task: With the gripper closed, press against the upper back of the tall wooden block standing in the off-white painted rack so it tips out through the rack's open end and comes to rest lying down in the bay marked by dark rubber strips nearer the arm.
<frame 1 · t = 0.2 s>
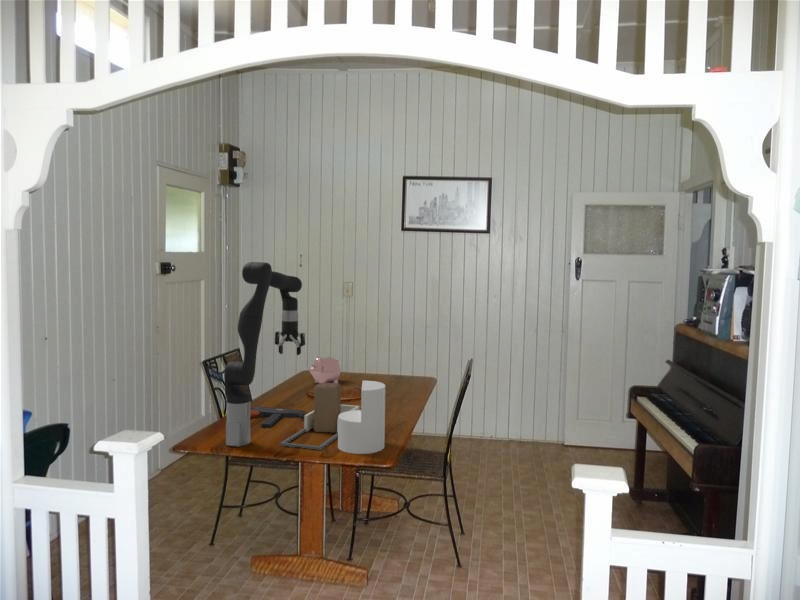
hand: (289, 354, 303), 29 cm above the table, tool pointing down, fingers open, 8 cm apart
cylinder: (361, 446, 262), on the table
wooden block: (327, 430, 284), on the table
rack: (332, 426, 290), on the table
bay: (312, 439, 269), on the table
piggy bank: (325, 383, 380), on the table
submachine gun: (272, 421, 299), on the table
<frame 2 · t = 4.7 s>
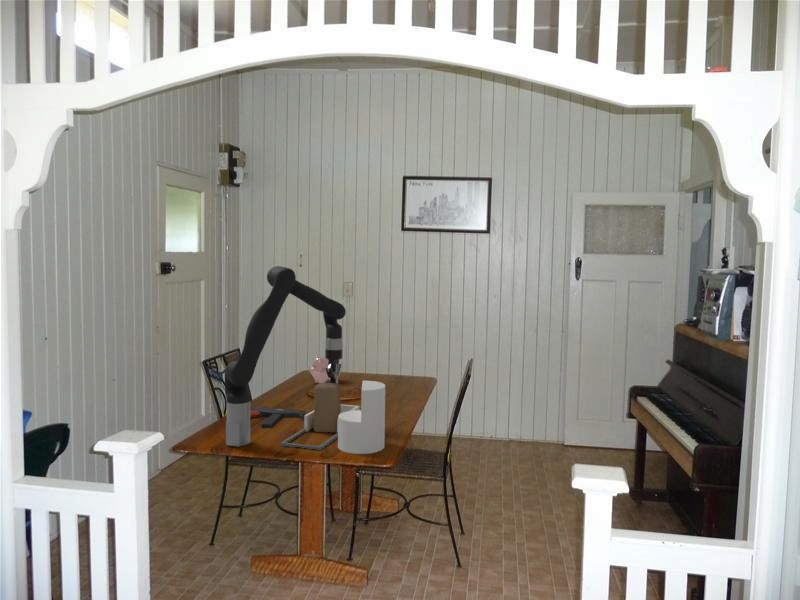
hand: (333, 386, 290), 18 cm above the table, tool pointing down, fingers closed
wooden block: (327, 430, 284), on the table, touching gripper
everything else where it was.
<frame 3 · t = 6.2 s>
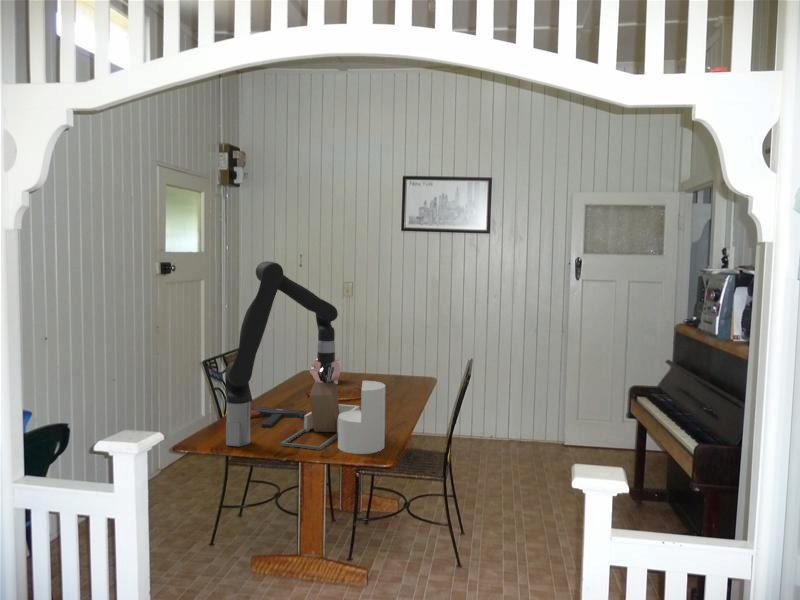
hand: (325, 390, 281), 18 cm above the table, tool pointing down, fingers closed
wooden block: (327, 425, 284), point 2 cm above the table
everything else where it was.
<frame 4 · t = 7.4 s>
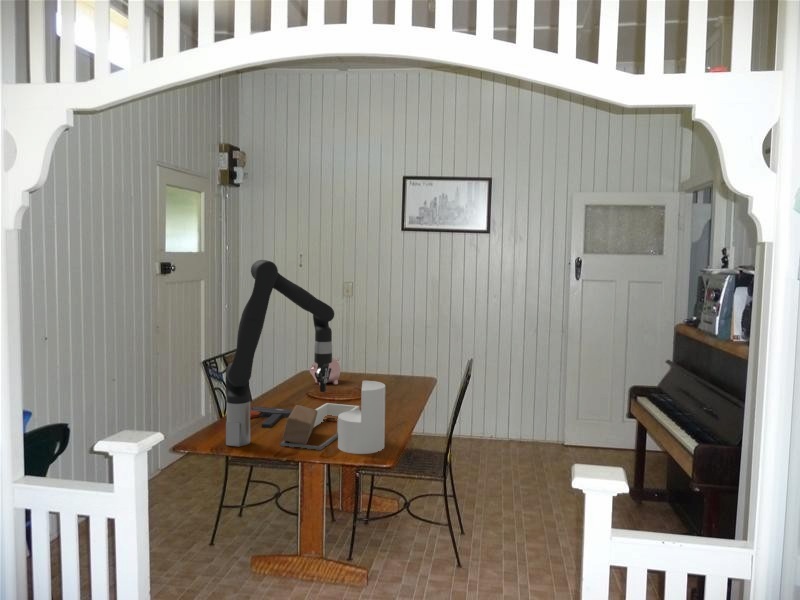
hand: (323, 391, 278), 18 cm above the table, tool pointing down, fingers closed
wooden block: (304, 417, 280), point 6 cm above the table, touching bay
everything else where it was.
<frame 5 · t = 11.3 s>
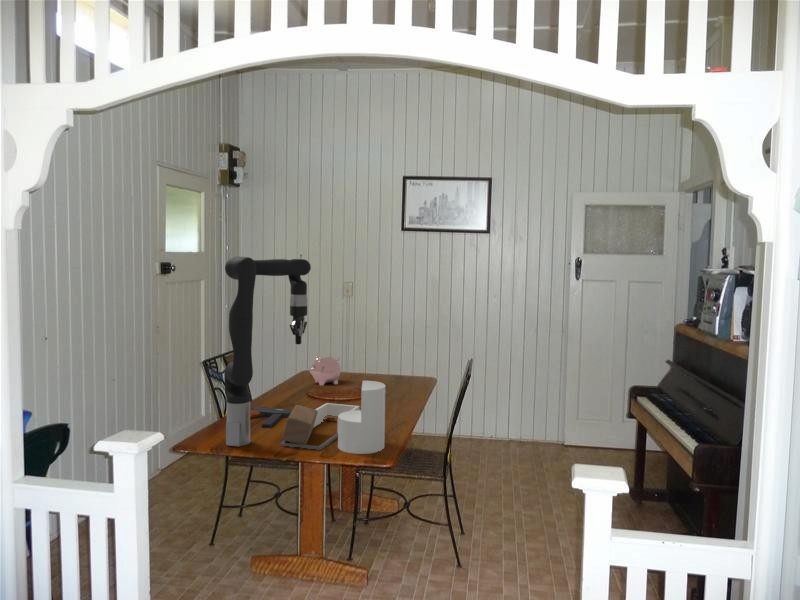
hand: (298, 344, 285), 37 cm above the table, tool pointing down, fingers closed
nothing on the table moved.
at the end: wooden block tilted 92°; wooden block inside the target area (7.9 cm from its centre), point 6.5 cm above the table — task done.
